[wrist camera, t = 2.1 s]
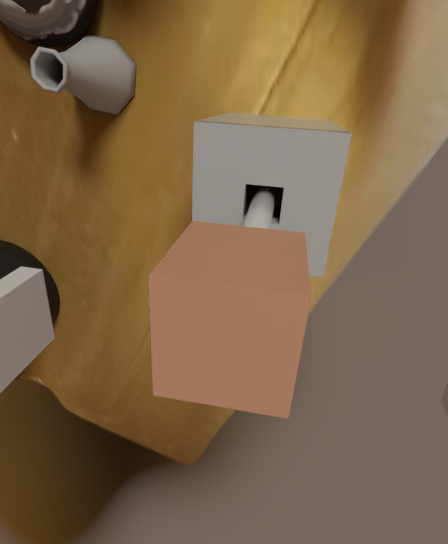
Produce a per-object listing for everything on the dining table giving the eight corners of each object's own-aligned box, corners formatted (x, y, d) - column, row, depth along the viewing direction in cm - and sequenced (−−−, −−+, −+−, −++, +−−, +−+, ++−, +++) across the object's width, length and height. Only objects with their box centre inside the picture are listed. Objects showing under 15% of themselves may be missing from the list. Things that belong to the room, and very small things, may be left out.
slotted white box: (312, 216, 41) (323, 277, 27) (224, 207, 42) (191, 261, 28) (329, 119, 36) (351, 133, 23) (229, 112, 38) (193, 121, 24)
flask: (148, 60, 37) (103, 48, 28) (122, 127, 40) (75, 135, 31) (84, 20, 36) (17, -5, 27) (63, 91, 40) (-3, 89, 31)
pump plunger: (290, 222, 29) (288, 418, 11) (235, 216, 30) (153, 395, 12) (298, 166, 27) (310, 296, 10) (240, 161, 28) (148, 275, 10)
